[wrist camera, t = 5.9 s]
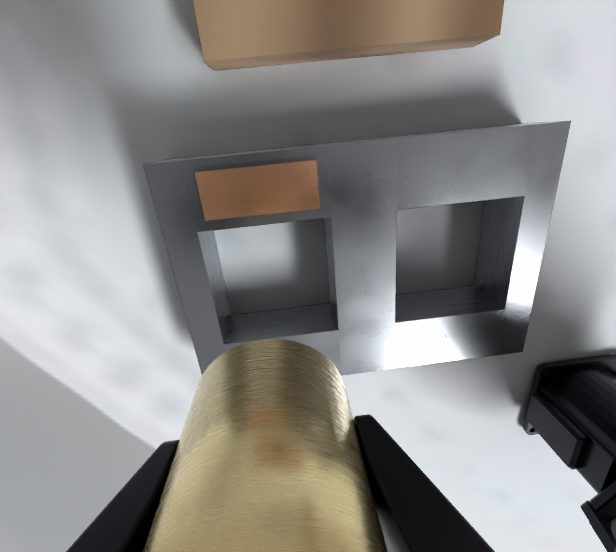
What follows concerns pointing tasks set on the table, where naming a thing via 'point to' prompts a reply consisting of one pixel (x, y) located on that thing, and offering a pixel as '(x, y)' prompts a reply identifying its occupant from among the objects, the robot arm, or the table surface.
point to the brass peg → (268, 460)
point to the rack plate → (369, 240)
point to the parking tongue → (337, 29)
